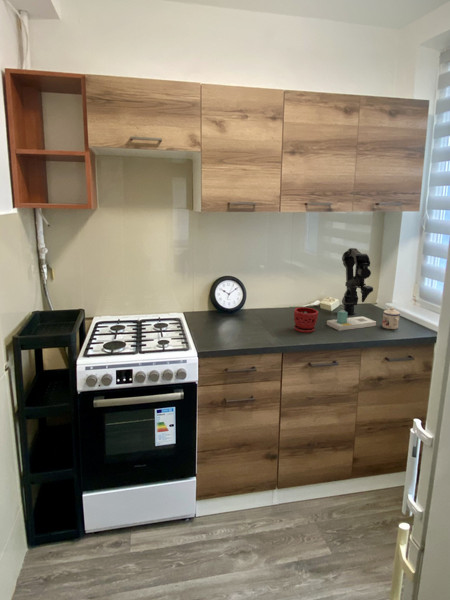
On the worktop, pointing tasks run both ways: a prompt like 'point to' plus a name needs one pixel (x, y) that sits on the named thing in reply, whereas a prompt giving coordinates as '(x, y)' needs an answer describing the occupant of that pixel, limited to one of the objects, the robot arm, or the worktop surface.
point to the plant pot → (305, 319)
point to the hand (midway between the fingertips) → (357, 300)
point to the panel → (352, 323)
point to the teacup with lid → (390, 319)
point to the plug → (342, 317)
